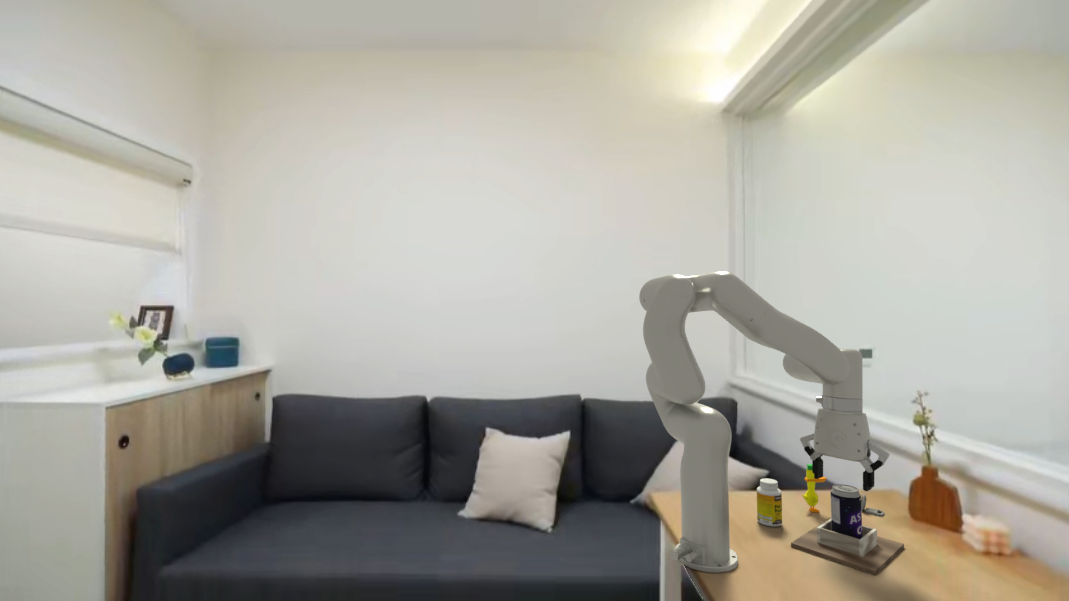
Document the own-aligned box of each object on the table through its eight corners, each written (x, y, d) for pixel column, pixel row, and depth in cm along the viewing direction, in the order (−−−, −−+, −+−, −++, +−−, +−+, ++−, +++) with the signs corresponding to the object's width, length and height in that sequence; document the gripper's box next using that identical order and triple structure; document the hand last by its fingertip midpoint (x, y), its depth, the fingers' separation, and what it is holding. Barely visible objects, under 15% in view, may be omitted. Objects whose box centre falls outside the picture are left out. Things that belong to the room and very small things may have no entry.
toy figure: (822, 508, 132) (821, 461, 132) (831, 513, 128) (830, 465, 128) (798, 509, 131) (796, 462, 132) (806, 514, 128) (805, 466, 128)
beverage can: (853, 551, 105) (851, 494, 106) (826, 541, 110) (824, 486, 111) (868, 545, 108) (866, 489, 108) (841, 535, 113) (839, 481, 113)
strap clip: (885, 515, 128) (884, 498, 128) (881, 518, 125) (881, 501, 126) (847, 506, 134) (846, 489, 134) (843, 508, 132) (843, 492, 132)
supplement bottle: (777, 529, 119) (776, 486, 119) (753, 523, 123) (752, 480, 123) (786, 523, 122) (784, 480, 123) (762, 516, 126) (761, 475, 127)
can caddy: (875, 575, 98) (874, 554, 98) (790, 546, 110) (790, 528, 110) (904, 547, 109) (903, 528, 109) (824, 524, 121) (824, 507, 121)
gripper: (794, 400, 115) (793, 476, 114) (882, 412, 101) (882, 498, 101) (808, 398, 120) (808, 470, 119) (894, 409, 106) (894, 491, 105)
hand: (842, 483), depth 110 cm, fingers open, 9 cm apart
